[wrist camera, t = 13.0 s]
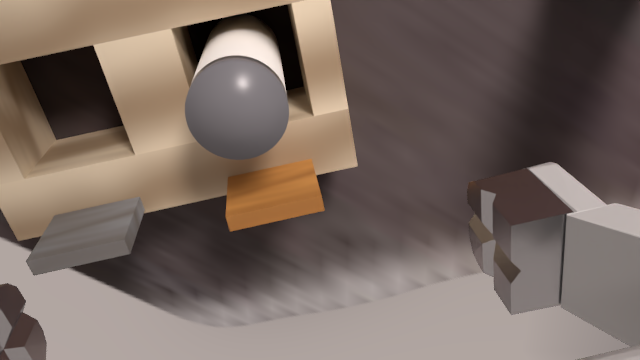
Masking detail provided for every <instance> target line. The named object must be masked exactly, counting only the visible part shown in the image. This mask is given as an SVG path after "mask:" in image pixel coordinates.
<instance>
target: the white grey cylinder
mask: <svg viewBox="0 0 640 360" xmlns="http://www.w3.org/2000/svg"><path fill="white" fill-rule="evenodd" d="M185 118H186V122H187V125H188V128H189V130H190V132H191V134H192V135H193V137H194V138H195V139H196V141H197V142H198V143H199V144H200V145H201V146H202V147H204V148H205V149H206V150H208V151H209V152H211V153H213V154H215V155H217V156H220V157H223V158H226V159H232V160H245V159H251V158H254V157H257V156H260V155H262V154H264V153H266V152H267V151H269V150H270V149H272V148H273V147H274V146H275V145H276V144H277V143H278V142H279V140H280V139H281V138H282V136H283V134H284V133H285V130H286V128H287V124H288V120H289V105H288V99H287V93H286V87H285V81H284V75H283V69H282V63H281V57H280V50H279V44H278V41H277V38H276V35H275V34H274V32H273V30H272V29H271V28H270V27H269V26H268V25H267V24H266V23H265V22H264V21H263V20H261V19H259V18H257V17H255V16H252V15H248V14H238V15H233V16H228V17H226V18H224V19H222V20H221V21H219V22H218V23H217V24H216V25H215V26H214V27H213V29H212V30H211V32H210V34H209V36H208V39H207V42H206V45H205V47H204V50H203V53H202V55H201V58H200V61H199V64H198V66H197V69H196V72H195V75H194V77H193V80H192V83H191V85H190V88H189V91H188V94H187V97H186V101H185Z"/></svg>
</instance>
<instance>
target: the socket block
mask: <svg viewBox="0 0 640 360" xmlns="http://www.w3.org/2000/svg"><path fill="white" fill-rule="evenodd" d="M285 4H287V6H288V11H289V16H290V20H291V25H292V30H293V35H294V40H295V45H296V50H297V55H298V60H299V65H300V70H301V75H302V80H303V85H304V87H300V88H295V89H290V90H286V93H287V99H288V105H289V120H288V124H287V128H286V130H285V133H284V134H283V136H282V138H281V139H280V140H279V142H278V143H277V144H276V145H275V146H274V147H273V148H272V149H270V150H269V151H267V152H266V153H264V154H262V155H260V156H257V157H254V158H251V159H245V160H232V159H226V158H223V157H220V156H217V155H215V154H213V153H211V152H209V151H208V150H206V149H205V148H204V147H202V146H201V145H200V144H199V143H198V142H197V141H196V139H195V138H194V137H193V135H192V134H191V132H190V130H189V128H188V125H187V122H186V118H185V101H186V97H187V94H188V91H189V88H190V85H191V83H192V80H193V77H194V75H195V72H196V69H197V66H198V61H197V58H196V55H195V51H194V48H193V44H192V41H191V38H190V34H189V31H188V27H187V25H191V24H195V23H200V22H205V21H210V20H214V19H219V18H224V17H228V16H233V15H238V14H243V13H247V12H252V11H257V10H262V9H266V8H271V7H276V6H281V5H285ZM91 45H93V46H94V48H95V51H96V54H97V56H98V59H99V62H100V64H101V67H102V69H103V72H104V75H105V77H106V80H107V82H108V85H109V88H110V90H111V93H112V95H113V98H114V101H115V103H116V106H117V108H118V111H119V114H120V116H121V119H122V122H123V124H124V126H119V127H114V128H110V129H105V130H100V131H96V132H91V133H86V134H82V135H77V136H73V137H68V138H63V139H59V140H56V138H55V136H54V134H53V132H52V129H51V127H50V125H49V123H48V121H47V118H46V116H45V114H44V112H43V110H42V107H41V105H40V103H39V101H38V99H37V96H36V94H35V92H34V90H33V88H32V85H31V83H30V81H29V79H28V77H27V74H26V72H25V70H24V68H23V66H22V63H21V61H20V60H25V59H29V58H34V57H39V56H44V55H48V54H53V53H58V52H63V51H67V50H72V49H77V48H81V47H86V46H91ZM356 166H358V165H357V159H356V153H355V147H354V141H353V135H352V129H351V123H350V117H349V110H348V104H347V98H346V92H345V86H344V80H343V74H342V68H341V62H340V56H339V50H338V43H337V37H336V31H335V25H334V19H333V13H332V7H331V1H330V0H0V208H1V210H2V212H3V214H4V216H5V218H6V219H7V221H8V223H9V225H10V227H11V229H12V230H13V232H14V234H15V236H16V238H17V240H18V241H21V240H26V239H30V238H35V237H39V236H41V238H40V240H39V241H38V243H37V244H36V246H35V248H34V249H33V251H32V252H31V254H30V256H29V257H28V259H27V261H26V262H27V264H28V266H29V267H30V269H31V271H32V272H33V275H38V274H43V273H47V272H52V271H56V270H60V269H65V268H69V267H74V266H78V265H83V264H87V263H92V262H96V261H101V260H105V259H110V258H114V257H119V256H123V255H128V254H130V253H131V250H132V247H133V244H134V241H135V238H136V235H137V232H138V229H139V226H140V223H141V220H142V217H143V214H144V213H148V212H152V211H157V210H161V209H166V208H170V207H175V206H179V205H184V204H189V203H193V202H198V201H202V200H207V199H211V198H216V197H220V196H225V195H227V202H226V220H227V223H228V226H229V229H230V232H231V231H235V230H240V229H244V228H249V227H253V226H258V225H262V224H266V223H271V222H275V221H280V220H284V219H289V218H293V217H298V216H302V215H307V214H311V213H316V212H320V211H325V210H324V205H323V200H322V195H321V192H320V188H319V184H318V181H317V177H316V175H320V174H324V173H329V172H333V171H338V170H342V169H347V168H351V167H356Z"/></svg>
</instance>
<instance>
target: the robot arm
mask: <svg viewBox="0 0 640 360" xmlns="http://www.w3.org/2000/svg"><path fill="white" fill-rule="evenodd" d="M467 200H468V204H469V206H470V207H471V208H472V210H473V211H474V212H475V214H474V216H473V217H472V219H471V221H470V222H469V236H470V242H471V246H472V250H473V254H474V256H475V258H476V261H477V263H478V265H479V266H480V268H481V269H482V271H483V273H485V274H488V275H490V276H492V277H494V290H495V291H496V293H497V294H498V296H499V297H500V299H501V300H502V302H503V303H504V305H505V306H506V308H507V309H508V311H509V312H510V314H511V315H513V314H519V313H523V312H528V311H533V310H538V309H543V308H548V307H553V306H558V305H561V308H563V309H565V310H566V311H568V312H570V313H572V314H574V315H575V316H577V317H579V318H581V319H582V320H584V321H586V322H588V323H590V324H592V325H593V326H595V327H597V328H598V329H600V330H602V331H604V332H605V333H607V334H609V335H611V336H613V337H615V338H616V339H618V340H620V341H621V342H623V343H625V344H627V345H629V346H630V347H629V348H624V349H620V350H616V351H611V352H607V353H603V354H598V355H595V356H590V357H586V358H582V359H578V360H640V209H636V208H632V207H628V206H625V205H621V204H617V203H615V204H610V205H606V204H605V203H604V202H603V201H601V200H600V199H599V198H598V197H597V196H595V195H594V194H593V193H592V192H591V191H589V190H588V189H587V188H586V187H585V186H583V185H582V184H581V183H580V182H578V181H577V180H576V179H575V178H574V177H572V176H571V175H570V174H569V173H568V172H566V171H565V170H564V169H563V168H562V167H560V166H559V165H558V164H557V163H553V162H548V163H544V164H540V165H536V166H532V167H528V168H525V169H521V170H517V171H513V172H509V173H505V174H501V175H497V176H493V177H489V178H485V179H481V180H477V181H473V182H469V184H468V189H467ZM25 302H26V300H25V299H24V297H23V296H22V294H21V293H20V291H19V290H18V288H17V287H16V286H13V285H10V284H8V283H7V284H2V285H0V360H46V340H45V336H44V333H43V330H42V328H41V326H40V325H39V323H38V321H37V320H36V319H34V318H32V317H30V316H29V315H27V314H25V313H23V309H24V305H25Z"/></svg>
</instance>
